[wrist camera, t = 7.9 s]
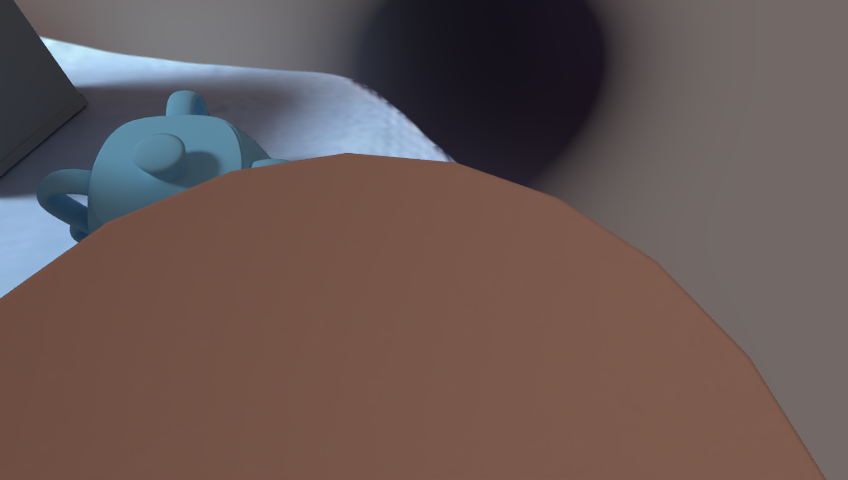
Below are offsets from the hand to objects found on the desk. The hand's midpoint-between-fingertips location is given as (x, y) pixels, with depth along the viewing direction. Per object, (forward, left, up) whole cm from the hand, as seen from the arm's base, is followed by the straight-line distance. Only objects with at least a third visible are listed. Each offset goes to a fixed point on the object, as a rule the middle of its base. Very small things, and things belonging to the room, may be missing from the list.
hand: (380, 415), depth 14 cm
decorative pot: (-21, -10, -24) cm, 34 cm away
